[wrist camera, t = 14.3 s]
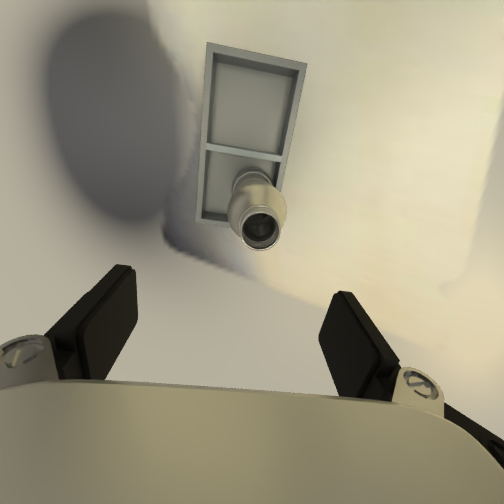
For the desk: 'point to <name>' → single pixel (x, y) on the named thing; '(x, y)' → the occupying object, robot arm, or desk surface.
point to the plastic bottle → (256, 209)
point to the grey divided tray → (244, 123)
